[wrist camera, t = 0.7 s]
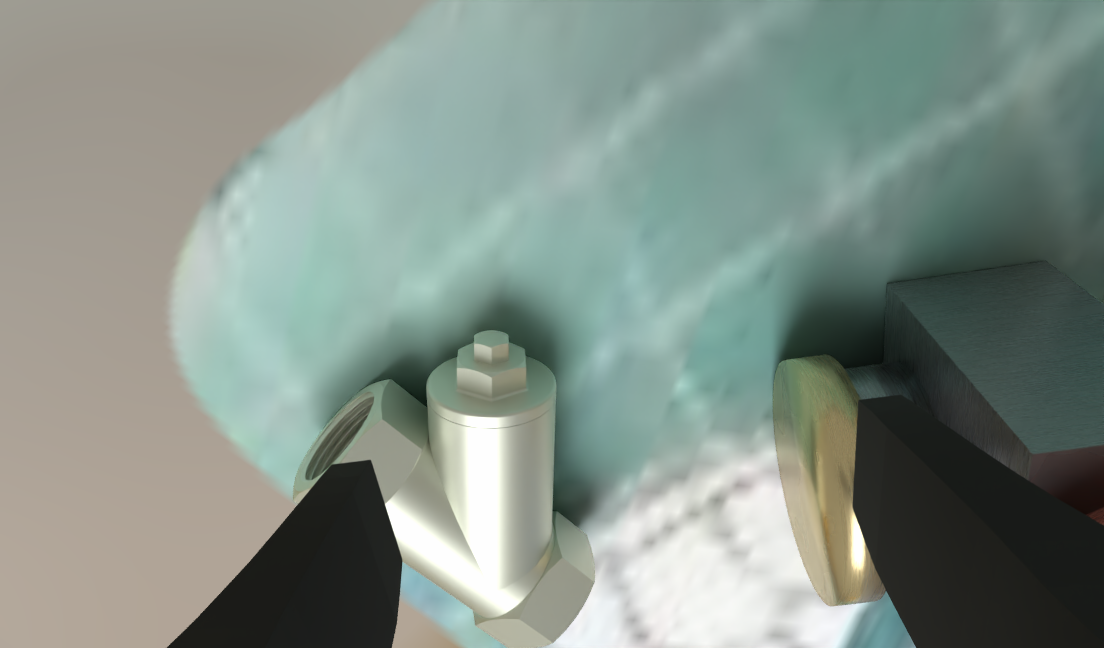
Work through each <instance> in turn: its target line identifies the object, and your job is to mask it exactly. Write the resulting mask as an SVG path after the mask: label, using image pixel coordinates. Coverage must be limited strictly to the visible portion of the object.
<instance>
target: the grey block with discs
mask: <svg viewBox="0 0 1104 648" xmlns="http://www.w3.org/2000/svg"><path fill="white" fill-rule="evenodd" d="M894 395H903V396H904V397H906V398H907V399H909V400H910V401H912V402H913V403H915V404H916V405H918V406H919V407H921V408H922V409H924V410H925V411H926V412H928V413H929V414H931V415H932V416H934V417H935V418H937V419H938V420H939V421H941V422H942V423H944V424H945V425H947V426H948V427H949V428H951V429H952V430H954V431H955V432H957V433H958V434H960V435H961V436H962V437H964V438H965V439H967V440H968V441H970V442H971V443H973V444H974V445H975V446H977V447H978V448H980V449H981V450H983V451H984V452H986V453H987V454H989V455H990V456H992V457H993V458H995V459H996V460H998V461H999V462H1001V463H1002V464H1004V465H1005V466H1007V467H1008V468H1010V469H1011V470H1013V471H1014V472H1016V473H1018V474H1019V475H1021V476H1022V477H1024V478H1025V479H1027V480H1028V481H1030V482H1032V483H1033V484H1035V485H1036V486H1038V487H1040V488H1041V489H1043V490H1045V491H1046V492H1048V493H1049V494H1051V495H1053V496H1054V497H1056V498H1058V499H1059V500H1061V501H1063V502H1064V503H1066V504H1068V505H1070V506H1071V507H1073V508H1075V509H1076V510H1078V511H1080V512H1081V513H1083V514H1085V515H1087V516H1088V517H1090V518H1092V519H1093V520H1095V521H1097V522H1099V523H1100V524H1102V525H1104V305H1103V304H1102V303H1101V302H1099V301H1098V300H1097V299H1095V298H1094V297H1093V296H1092V295H1090V294H1089V293H1088V292H1086V291H1085V290H1084V289H1082V288H1081V287H1080V286H1078V285H1077V284H1076V283H1074V282H1073V281H1072V280H1071V279H1069V278H1068V277H1067V276H1065V275H1064V274H1063V273H1061V272H1060V271H1059V270H1057V269H1056V268H1055V267H1053V266H1052V265H1051V264H1049V263H1048V262H1047V261H1042V262H1035V263H1028V264H1021V265H1014V266H1007V267H1000V268H993V269H986V270H979V271H972V272H965V273H958V274H951V275H944V276H937V277H930V278H923V279H916V280H909V281H902V282H895V283H888V284H887V294H886V313H885V331H884V350H883V364H877V365H869V366H862V367H855V368H848V369H844V368H843V367H842V365H841V364H840V363H839V362H838V361H837V360H836V359H835V358H834V357H832V356H830V355H827V354H825V355H818V356H811V357H804V358H796V359H789V360H783V361H781V362H780V364H779V365H778V367H777V370H776V374H775V379H774V387H773V421H774V434H775V443H776V451H777V459H778V465H779V471H780V477H781V483H782V488H783V493H784V498H785V502H786V507H787V511H788V515H789V519H790V523H791V527H792V530H793V534H794V537H795V541H796V544H797V547H798V550H799V553H800V556H801V559H802V561H803V564H804V567H805V569H806V572H807V574H808V576H809V579H810V581H811V583H812V585H813V587H814V589H815V590H816V592H817V594H818V595H819V597H820V598H821V599H822V601H823V602H824V603H825V604H827V605H829V606H840V605H848V604H856V603H865V602H873V601H878V600H879V599H881V598H882V596H883V595H884V594H885V591H886V589H885V587H884V585H883V583H882V581H881V579H880V577H879V575H878V573H877V571H876V569H875V567H874V564H873V562H872V559H871V557H870V554H869V551H868V549H867V546H866V544H865V541H864V538H863V535H862V533H861V530H860V527H859V524H858V521H857V519H856V516H855V513H854V510H853V508H852V504H853V486H854V469H855V451H856V433H857V415H858V400H861V399H870V398H878V397H886V396H894Z"/></svg>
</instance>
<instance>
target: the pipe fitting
mask: <svg viewBox="0 0 1104 648" xmlns="http://www.w3.org/2000/svg"><path fill="white" fill-rule="evenodd" d="M556 389H557V384H556V379H555V376H554V374H553V373H552V371H551V370H550V369H549V368H548V367H547V366H545V365H544V364H543V363H541V362H539V361H537V360H535V359H533V358H530V357H528V356H525V349H524V348H522V347H520V346H518V345H515V344H513V343H509V337H508V334H506V333H504V332H501V331H496V330H488V331H482V332H480V333H477V334H475V335H474V343H471V344H469V345H466V346H464V347H462V348H460V349H458V356H457V357H455V358H452V359H450V360H448V361H446V362H444V363H442V364H441V365H439V366H438V367H437V368H436V369H434V371H433V372H432V373H431V374H430V376H429V378H428V380H427V384H426V391H427V407H425V406H424V405H423V404H422V403H420V402H419V401H418V400H417V399H415V398H414V397H413V396H412V395H410V394H409V393H408V392H407V391H405V390H404V389H403V388H402V387H400V386H399V385H398V384H397V383H395V382H394V381H393V380H392V379H388V380H383V381H379V382H376V383H373V384H371V385H369V386H367V387H365V388H364V389H362V390H361V391H360V392H358V393H357V394H356V395H355V396H353V397H352V398H351V399H350V400H349V401H348V402H347V403H346V404H345V405H344V406H343V407H342V408H341V409H340V410H339V411H338V412H337V413H336V414H335V415H334V417H333V418H332V419H331V420H330V421H329V422H328V424H327V425H326V426H325V427H324V429H323V430H322V431H321V433H320V434H319V435H318V437H317V438H316V440H315V441H314V442H313V444H312V445H311V447H310V449H309V450H308V452H307V454H306V455H305V457H304V459H303V461H302V463H301V465H300V467H299V469H298V471H297V474H296V477H295V482H294V488H293V501H294V502H296V503H297V504H299V503H300V501H301V500H302V499H303V498H304V496H305V495H306V494H307V493H308V492H309V490H310V489H311V488H312V487H313V486H314V484H315V483H316V482H317V481H318V479H319V478H320V477H321V476H322V475H323V474H324V472H325V471H326V470H327V469H328V468H329V467H330V466H331V465H332V464H340V463H348V462H356V461H364V460H371V461H372V464H373V468H374V471H375V474H376V477H377V480H378V483H379V487H380V490H381V493H382V496H383V499H384V502H385V506H386V509H387V512H388V515H389V518H390V521H391V525H392V528H393V531H394V534H395V537H396V540H397V544H398V547H399V550H400V553H401V556H402V562H404V563H405V564H407V565H408V566H410V567H411V568H412V569H414V570H415V571H417V572H418V573H420V574H421V575H423V576H424V577H425V578H427V579H428V580H430V581H431V582H433V583H434V584H436V585H437V586H439V587H440V588H441V589H443V590H444V591H446V592H447V593H449V594H450V595H452V596H453V597H454V598H456V599H457V600H459V601H460V602H462V603H463V604H465V605H466V606H467V607H469V608H470V609H472V610H473V614H474V620H475V626H477V627H478V628H480V629H481V630H483V631H484V632H486V633H487V634H489V635H490V636H491V637H493V638H494V639H496V640H497V641H499V642H500V643H502V644H503V645H505V646H506V647H508V648H537V647H542V646H546V645H549V644H552V643H553V642H554V641H555V640H556V639H558V638H559V637H560V636H561V635H562V633H563V632H564V631H565V630H566V629H567V628H568V627H569V626H570V624H571V623H572V622H573V621H574V619H575V618H576V617H577V615H578V614H579V612H580V610H581V609H582V607H583V605H584V604H585V602H586V600H587V598H588V596H589V594H590V592H591V589H592V587H593V584H594V582H595V566H594V558H593V554H592V550H591V546H590V543H589V540H588V537H587V535H586V534H585V533H584V532H583V531H581V530H580V529H579V528H578V527H576V526H575V525H574V524H573V523H571V522H570V521H569V520H568V519H566V518H565V517H564V516H562V515H561V514H560V513H559V512H557V511H552V509H553V477H554V445H555V412H556ZM427 408H428V409H427Z"/></svg>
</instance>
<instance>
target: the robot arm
mask: <svg viewBox="0 0 1104 648" xmlns="http://www.w3.org/2000/svg"><path fill="white" fill-rule="evenodd" d="M852 508H853V510H854V513H855V516H856V519H857V521H858V524H859V527H860V530H861V533H862V535H863V538H864V541H865V544H866V546H867V549H868V551H869V554H870V557H871V559H872V562H873V564H874V567H875V569H876V571H877V573H878V575H879V577H880V579H881V581H882V583H883V585H884V587H885V589H886V591H887V593H888V595H889V597H890V599H891V601H892V602H893V604H894V606H895V608H896V610H897V612H898V614H899V616H900V618H901V620H902V622H903V623H904V625H905V627H906V629H907V631H908V633H909V635H910V637H911V639H912V640H913V642H914V644H915V646H916V648H1104V525H1102V524H1100V523H1099V522H1097V521H1095V520H1093V519H1092V518H1090V517H1088V516H1087V515H1085V514H1083V513H1081V512H1080V511H1078V510H1076V509H1075V508H1073V507H1071V506H1070V505H1068V504H1066V503H1064V502H1063V501H1061V500H1059V499H1058V498H1056V497H1054V496H1053V495H1051V494H1049V493H1048V492H1046V491H1045V490H1043V489H1041V488H1040V487H1038V486H1036V485H1035V484H1033V483H1032V482H1030V481H1028V480H1027V479H1025V478H1024V477H1022V476H1021V475H1019V474H1018V473H1016V472H1014V471H1013V470H1011V469H1010V468H1008V467H1007V466H1005V465H1004V464H1002V463H1001V462H999V461H998V460H996V459H995V458H993V457H992V456H990V455H989V454H987V453H986V452H984V451H983V450H981V449H980V448H978V447H977V446H975V445H974V444H973V443H971V442H970V441H968V440H967V439H965V438H964V437H962V436H961V435H960V434H958V433H957V432H955V431H954V430H952V429H951V428H949V427H948V426H947V425H945V424H944V423H942V422H941V421H939V420H938V419H937V418H935V417H934V416H932V415H931V414H929V413H928V412H926V411H925V410H924V409H922V408H921V407H919V406H918V405H916V404H915V403H913V402H912V401H910V400H909V399H907V398H906V397H904V396H903V395H894V396H886V397H878V398H870V399H861V400H858V415H857V433H856V451H855V469H854V486H853V504H852ZM401 571H402V556H401V553H400V550H399V547H398V544H397V540H396V537H395V534H394V531H393V528H392V525H391V521H390V518H389V515H388V512H387V509H386V506H385V502H384V499H383V496H382V493H381V490H380V487H379V483H378V480H377V477H376V474H375V471H374V468H373V464H372V461H371V460H364V461H356V462H348V463H340V464H332V465H331V466H330V467H329V468H328V469H327V470H326V471H325V472H324V474H323V475H322V476H321V477H320V478H319V479H318V481H317V482H316V483H315V484H314V486H313V487H312V488H311V489H310V490H309V492H308V493H307V494H306V495H305V496H304V498H303V499H302V500H301V501H300V503H299V504H298V505H297V506H296V507H295V509H294V510H293V511H292V512H291V514H290V515H289V516H288V517H287V518H286V519H285V521H284V522H283V523H282V524H281V525H280V527H279V528H278V529H277V530H276V531H275V533H274V534H273V535H272V536H271V537H270V538H269V540H268V541H267V542H266V543H265V544H264V546H263V547H262V548H261V549H260V550H259V552H258V553H257V554H256V555H255V556H254V557H253V558H252V559H251V561H250V562H249V563H248V564H247V565H246V566H245V567H244V569H242V571H241V572H240V573H239V574H238V575H237V576H236V577H235V578H234V579H233V580H232V582H230V583H229V585H228V586H227V587H226V588H225V589H224V590H223V591H222V592H221V593H220V594H219V595H218V596H217V598H215V599H214V601H213V602H212V603H211V604H210V605H209V606H208V607H207V608H206V609H205V610H204V611H203V612H202V613H201V614H200V616H199V617H198V618H197V619H196V620H195V621H194V622H193V623H192V624H191V625H190V626H189V627H188V628H187V629H186V630H185V631H184V632H183V633H181V635H179V636H178V637H177V638H176V639H175V640H174V641H173V642H172V643H171V644H170V645H169V646H168V647H167V648H392V644H393V638H394V634H395V629H396V624H397V616H398V606H399V596H400V584H401Z"/></svg>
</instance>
